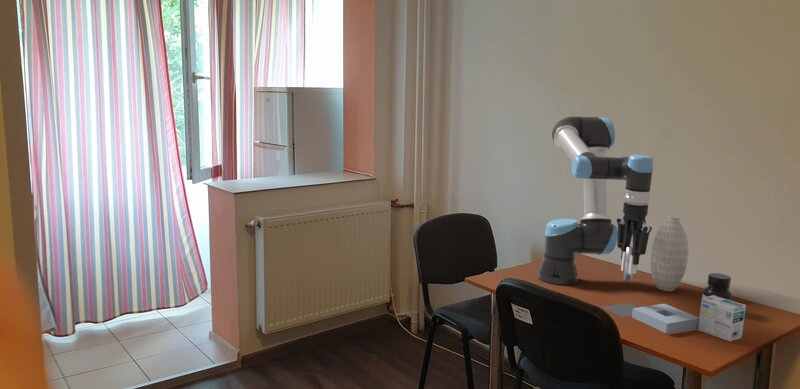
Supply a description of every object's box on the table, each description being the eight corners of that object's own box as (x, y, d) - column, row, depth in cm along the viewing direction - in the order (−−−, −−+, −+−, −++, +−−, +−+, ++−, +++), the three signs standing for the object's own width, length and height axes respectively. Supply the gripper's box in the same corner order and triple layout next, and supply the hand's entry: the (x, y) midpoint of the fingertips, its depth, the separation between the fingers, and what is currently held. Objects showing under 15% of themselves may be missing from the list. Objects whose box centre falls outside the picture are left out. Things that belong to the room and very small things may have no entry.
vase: (648, 281, 243) (656, 211, 238) (684, 287, 238) (692, 215, 233) (646, 290, 232) (654, 216, 227) (683, 296, 226) (692, 221, 221)
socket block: (631, 318, 202) (632, 308, 201) (663, 313, 208) (664, 303, 207) (665, 334, 189) (667, 323, 189) (698, 328, 195) (699, 318, 195)
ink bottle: (695, 304, 218) (699, 271, 216) (719, 304, 219) (723, 271, 217) (711, 314, 208) (715, 280, 206) (736, 314, 209) (740, 280, 207)
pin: (621, 278, 208) (624, 246, 206) (627, 277, 209) (631, 245, 207) (627, 280, 205) (631, 248, 203) (634, 280, 207) (638, 248, 204)
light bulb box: (742, 338, 189) (747, 304, 187) (730, 342, 185) (734, 308, 183) (709, 326, 198) (713, 294, 196) (696, 330, 194) (700, 297, 192)
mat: (600, 308, 211) (601, 306, 211) (627, 304, 216) (627, 303, 215) (622, 318, 202) (622, 317, 202) (649, 314, 207) (650, 312, 207)
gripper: (610, 198, 208) (603, 265, 212) (646, 208, 194) (637, 280, 198) (627, 197, 211) (620, 263, 215) (663, 207, 197) (655, 278, 201)
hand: (628, 271), depth 207 cm, fingers closed on pin, 3 cm apart
